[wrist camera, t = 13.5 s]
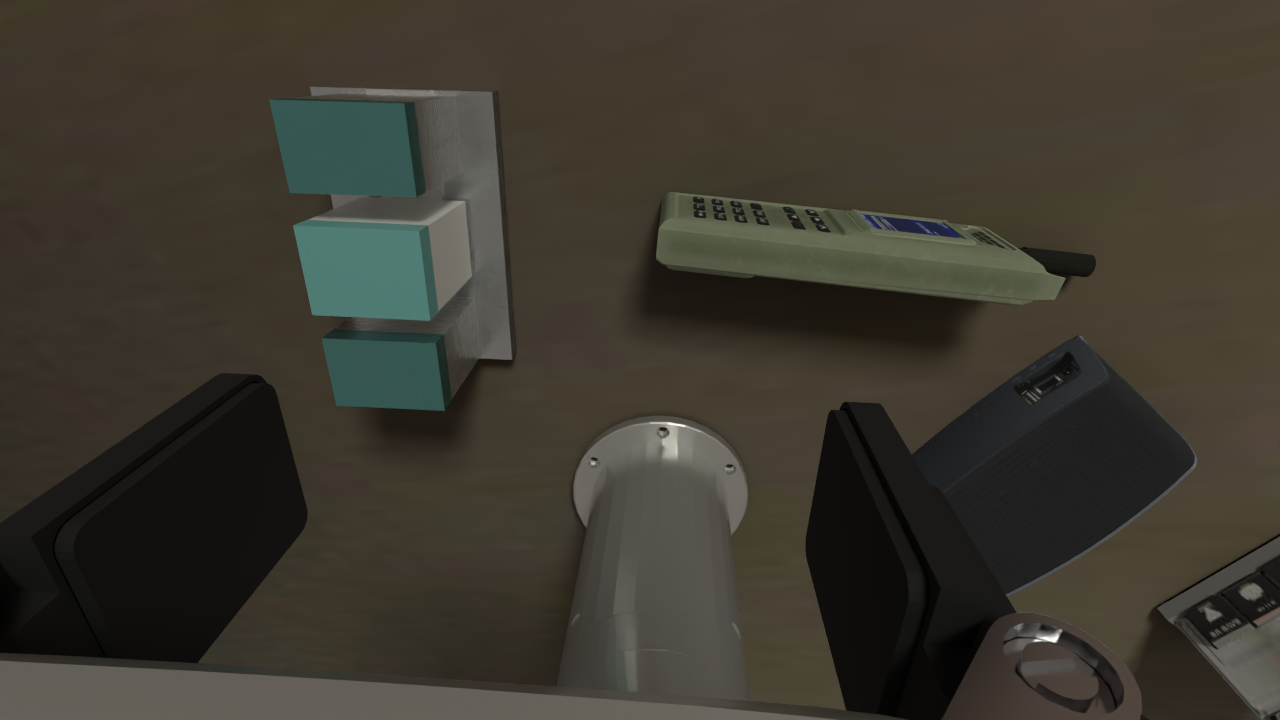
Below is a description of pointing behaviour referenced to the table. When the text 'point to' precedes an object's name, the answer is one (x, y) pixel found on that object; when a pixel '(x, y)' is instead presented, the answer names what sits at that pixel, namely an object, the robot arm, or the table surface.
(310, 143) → the rail plate
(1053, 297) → the handheld radio
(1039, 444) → the external hard drive
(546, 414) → the table surface
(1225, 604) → the grey printed box
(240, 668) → the robot arm
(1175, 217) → the table surface
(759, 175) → the table surface
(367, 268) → the block
